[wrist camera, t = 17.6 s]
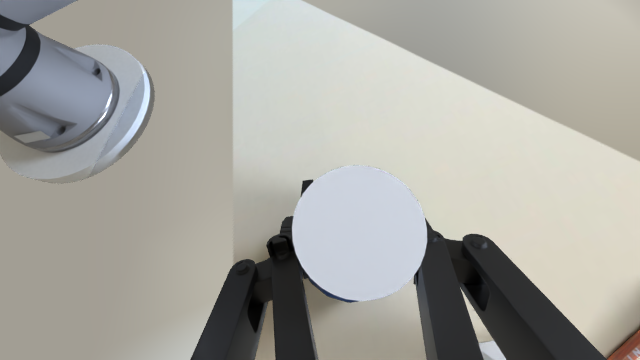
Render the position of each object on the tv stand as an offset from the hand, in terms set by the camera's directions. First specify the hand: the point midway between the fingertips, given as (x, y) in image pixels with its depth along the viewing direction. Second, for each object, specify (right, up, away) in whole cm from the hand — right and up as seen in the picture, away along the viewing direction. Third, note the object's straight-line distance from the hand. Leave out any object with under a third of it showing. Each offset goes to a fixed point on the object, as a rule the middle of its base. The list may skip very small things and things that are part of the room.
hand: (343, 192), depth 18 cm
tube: (+1, -5, +4) cm, 7 cm away
